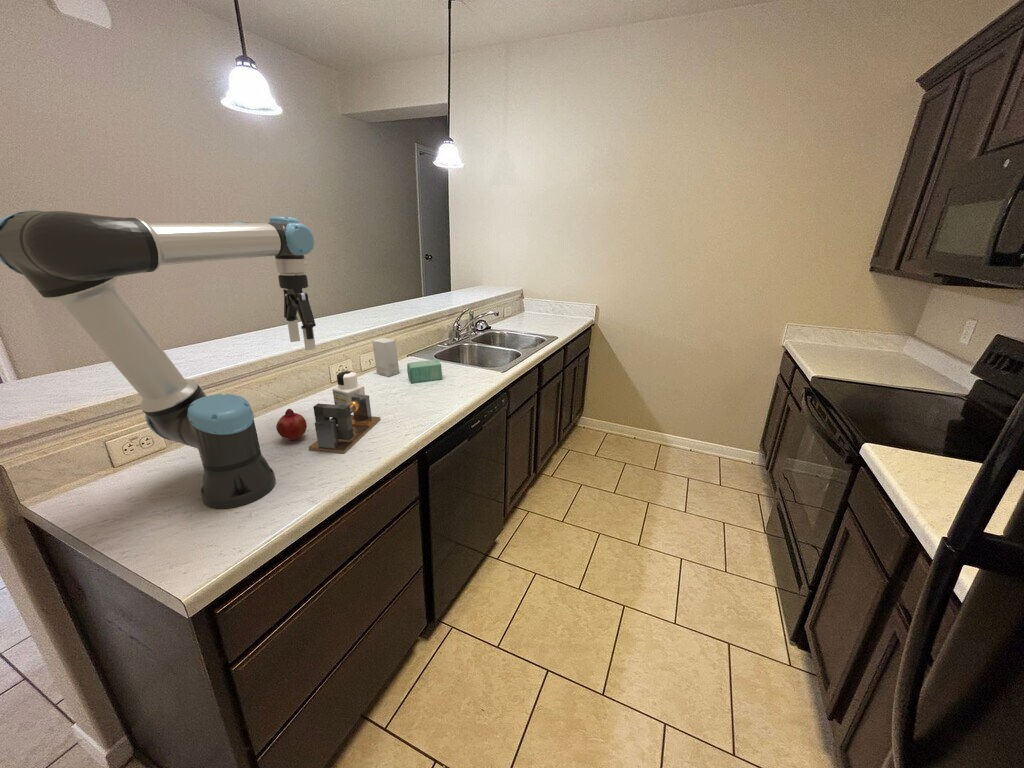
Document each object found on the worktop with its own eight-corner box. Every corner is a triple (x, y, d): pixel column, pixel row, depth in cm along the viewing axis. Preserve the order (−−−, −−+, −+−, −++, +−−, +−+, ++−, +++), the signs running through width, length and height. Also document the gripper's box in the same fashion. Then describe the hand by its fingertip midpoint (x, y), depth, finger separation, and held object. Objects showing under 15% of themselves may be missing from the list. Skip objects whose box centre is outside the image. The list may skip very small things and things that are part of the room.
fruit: (315, 435, 128) (309, 405, 125) (295, 447, 121) (289, 416, 117) (293, 431, 130) (287, 402, 127) (273, 443, 123) (266, 412, 119)
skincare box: (399, 373, 184) (396, 339, 179) (388, 377, 179) (385, 342, 174) (386, 370, 188) (383, 337, 183) (375, 374, 183) (371, 340, 178)
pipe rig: (344, 453, 117) (340, 425, 114) (309, 450, 119) (304, 422, 116) (380, 419, 139) (377, 395, 136) (350, 417, 140) (347, 393, 137)
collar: (349, 440, 121) (345, 409, 117) (318, 437, 122) (313, 406, 119) (353, 436, 123) (349, 405, 120) (323, 433, 124) (318, 403, 121)
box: (407, 378, 178) (406, 362, 176) (438, 374, 183) (437, 358, 181) (411, 384, 172) (409, 367, 169) (442, 380, 177) (441, 363, 174)
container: (334, 408, 147) (329, 374, 143) (351, 401, 154) (347, 368, 149) (350, 412, 144) (345, 377, 139) (366, 405, 150) (362, 371, 146)
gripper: (321, 276, 114) (330, 351, 120) (292, 271, 130) (301, 336, 137) (292, 277, 109) (303, 355, 115) (265, 271, 125) (277, 339, 132)
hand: (302, 345), depth 126 cm, fingers open, 13 cm apart
